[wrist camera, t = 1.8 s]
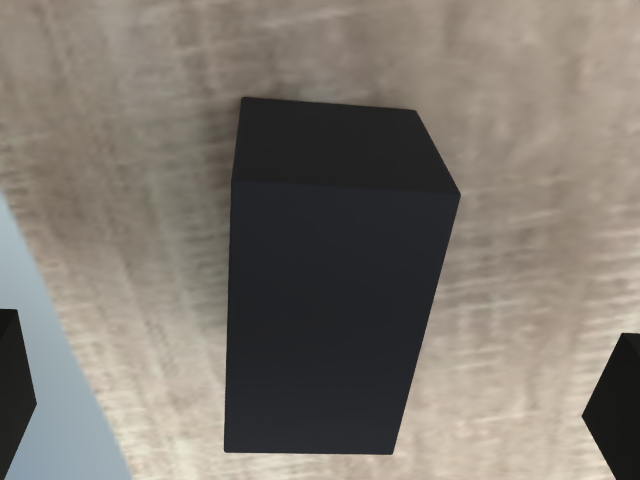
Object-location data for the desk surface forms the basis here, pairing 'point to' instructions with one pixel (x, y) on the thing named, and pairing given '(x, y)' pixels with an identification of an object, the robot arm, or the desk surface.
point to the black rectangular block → (329, 274)
